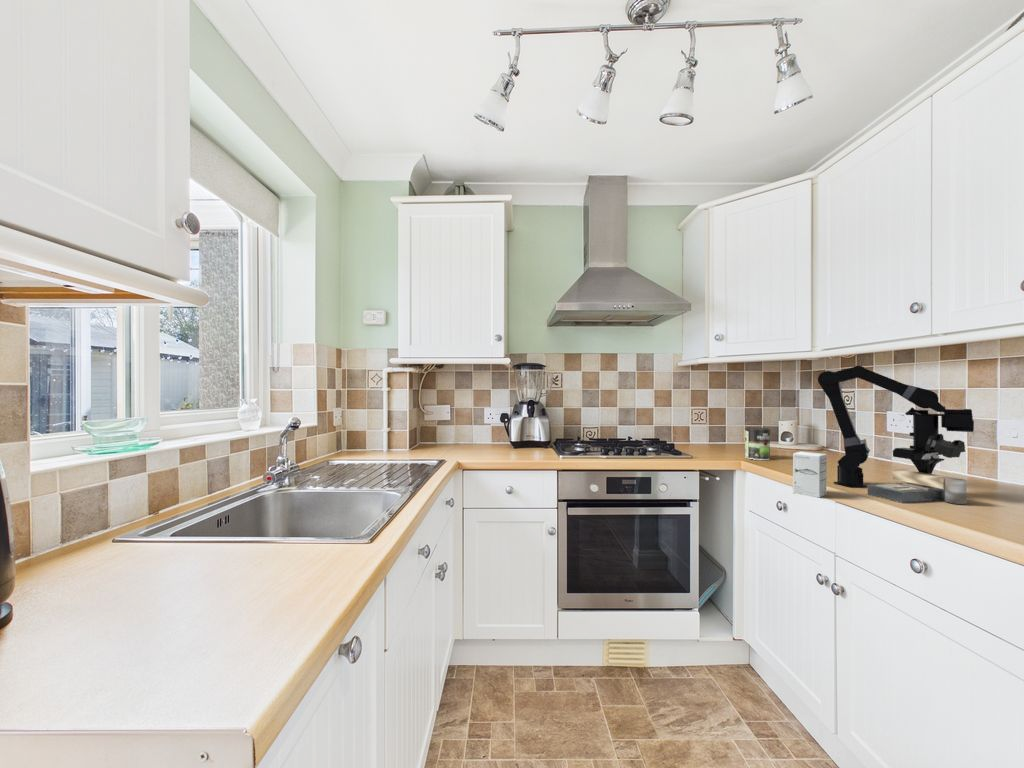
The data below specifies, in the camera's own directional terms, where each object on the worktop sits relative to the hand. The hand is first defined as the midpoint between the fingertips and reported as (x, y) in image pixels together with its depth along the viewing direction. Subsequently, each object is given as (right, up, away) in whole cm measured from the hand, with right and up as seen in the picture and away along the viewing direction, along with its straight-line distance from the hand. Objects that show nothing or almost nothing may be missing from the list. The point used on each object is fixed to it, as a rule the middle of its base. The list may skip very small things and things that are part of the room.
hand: (926, 480), depth 137 cm
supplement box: (-36, -4, 0) cm, 37 cm away
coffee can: (-15, -5, +67) cm, 69 cm away
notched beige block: (-3, -4, -4) cm, 6 cm away
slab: (-8, -4, -4) cm, 10 cm away
